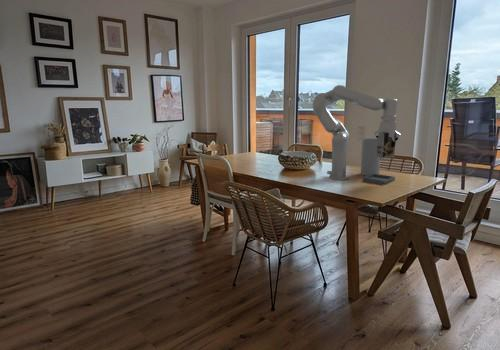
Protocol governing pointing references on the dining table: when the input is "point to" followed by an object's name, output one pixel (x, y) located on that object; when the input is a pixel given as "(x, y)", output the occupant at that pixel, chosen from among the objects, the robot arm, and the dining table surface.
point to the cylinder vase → (369, 157)
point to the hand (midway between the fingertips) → (386, 146)
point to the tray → (378, 179)
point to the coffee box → (385, 146)
